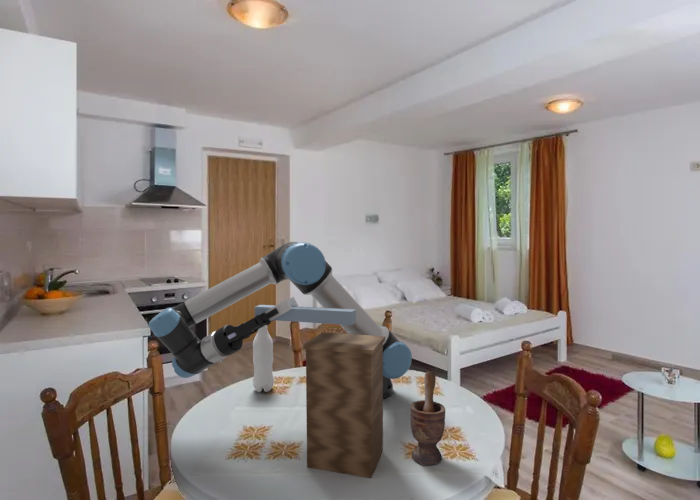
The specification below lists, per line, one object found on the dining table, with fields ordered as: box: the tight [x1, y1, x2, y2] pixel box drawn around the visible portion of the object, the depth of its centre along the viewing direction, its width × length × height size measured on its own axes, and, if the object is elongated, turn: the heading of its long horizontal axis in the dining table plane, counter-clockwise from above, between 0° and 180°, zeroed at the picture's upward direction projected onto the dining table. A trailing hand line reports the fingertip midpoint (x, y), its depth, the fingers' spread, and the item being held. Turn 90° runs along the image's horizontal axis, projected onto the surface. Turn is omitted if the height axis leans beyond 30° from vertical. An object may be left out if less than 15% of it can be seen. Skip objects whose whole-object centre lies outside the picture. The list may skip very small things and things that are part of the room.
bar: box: [254, 304, 356, 325], centre depth 108 cm, size 26×3×3 cm, turn 73°
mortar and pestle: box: [409, 371, 446, 466], centre depth 109 cm, size 12×9×20 cm
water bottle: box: [252, 325, 275, 393], centre depth 153 cm, size 7×7×25 cm
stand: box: [302, 331, 385, 479], centre depth 106 cm, size 17×13×30 cm
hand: (292, 303), depth 108 cm, fingers closed on bar, 3 cm apart
